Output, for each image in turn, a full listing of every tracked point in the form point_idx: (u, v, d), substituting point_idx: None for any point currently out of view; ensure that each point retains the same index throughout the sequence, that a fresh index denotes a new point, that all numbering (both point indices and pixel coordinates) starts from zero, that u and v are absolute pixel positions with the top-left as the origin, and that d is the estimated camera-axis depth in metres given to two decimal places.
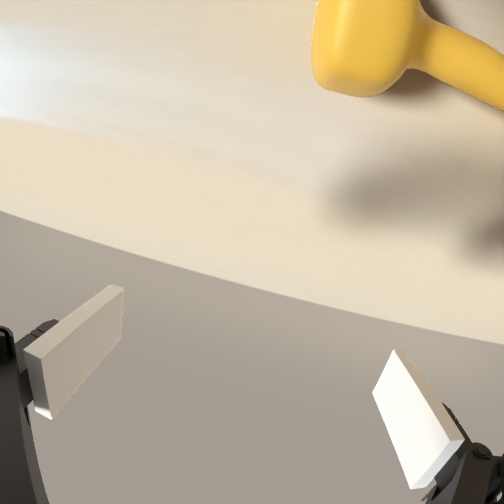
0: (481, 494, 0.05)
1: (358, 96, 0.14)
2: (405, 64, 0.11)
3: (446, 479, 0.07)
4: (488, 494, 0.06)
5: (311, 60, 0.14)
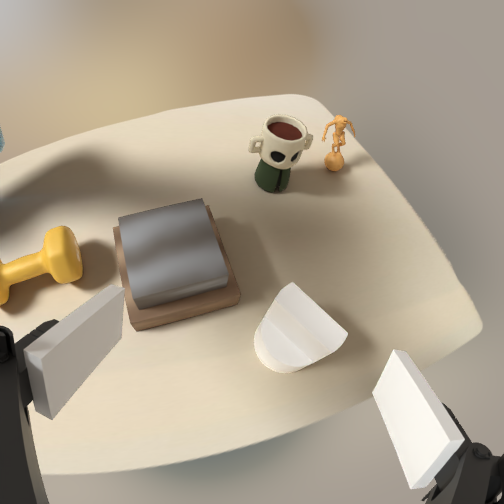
0: (481, 494, 0.05)
1: None
2: None
3: (446, 479, 0.07)
4: (488, 494, 0.06)
5: None
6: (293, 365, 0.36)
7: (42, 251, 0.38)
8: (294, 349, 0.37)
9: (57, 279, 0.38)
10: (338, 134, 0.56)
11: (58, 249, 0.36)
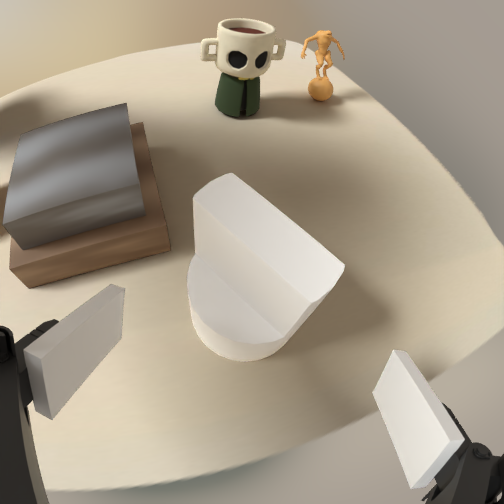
0: (481, 494, 0.05)
1: None
2: None
3: (446, 479, 0.07)
4: (488, 494, 0.06)
5: None
6: (243, 341, 0.19)
7: None
8: (246, 311, 0.20)
9: None
10: (322, 52, 0.40)
11: None
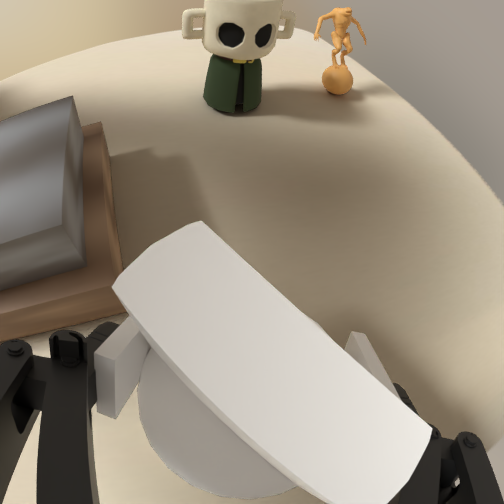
0: (434, 476, 0.06)
1: None
2: None
3: None
4: (441, 479, 0.07)
5: None
6: (233, 495, 0.10)
7: None
8: (238, 450, 0.11)
9: None
10: (340, 34, 0.30)
11: None
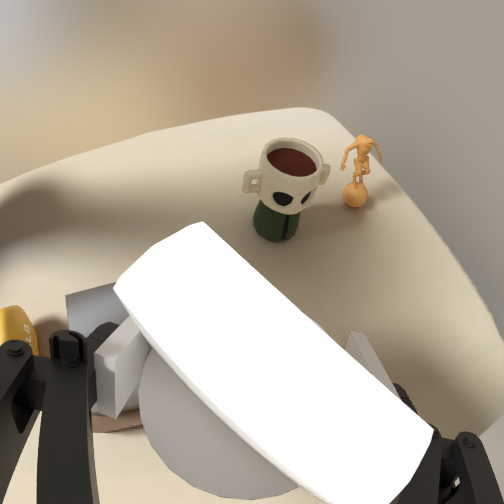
0: (434, 476, 0.06)
1: None
2: None
3: None
4: (441, 479, 0.07)
5: None
6: (234, 496, 0.10)
7: None
8: (238, 451, 0.11)
9: None
10: (361, 160, 0.43)
11: None
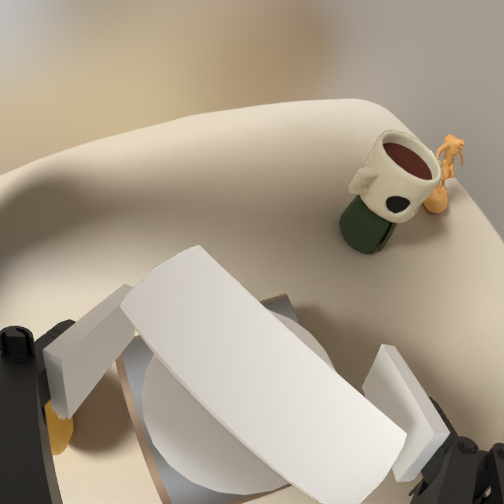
0: (469, 489, 0.05)
1: None
2: None
3: (432, 473, 0.07)
4: (476, 489, 0.06)
5: None
6: (229, 491, 0.10)
7: None
8: (234, 449, 0.11)
9: None
10: (448, 162, 0.34)
11: None
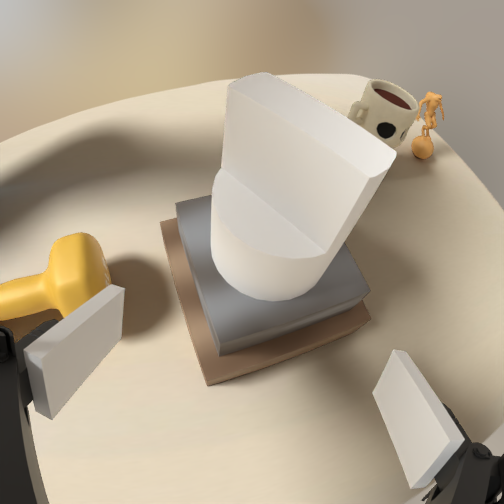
0: (481, 494, 0.05)
1: None
2: None
3: (446, 479, 0.07)
4: (488, 494, 0.06)
5: None
6: (280, 255, 0.17)
7: (46, 274, 0.22)
8: (282, 224, 0.18)
9: None
10: (430, 114, 0.41)
11: (74, 275, 0.21)
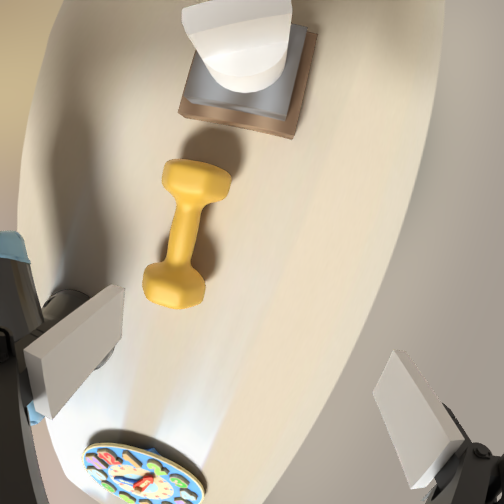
0: (481, 494, 0.05)
1: (202, 290, 0.41)
2: (176, 281, 0.38)
3: (446, 479, 0.07)
4: (488, 494, 0.06)
5: None
6: (276, 61, 0.26)
7: (184, 201, 0.37)
8: (259, 50, 0.26)
9: (223, 197, 0.38)
10: None
11: (202, 178, 0.35)
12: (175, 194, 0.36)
